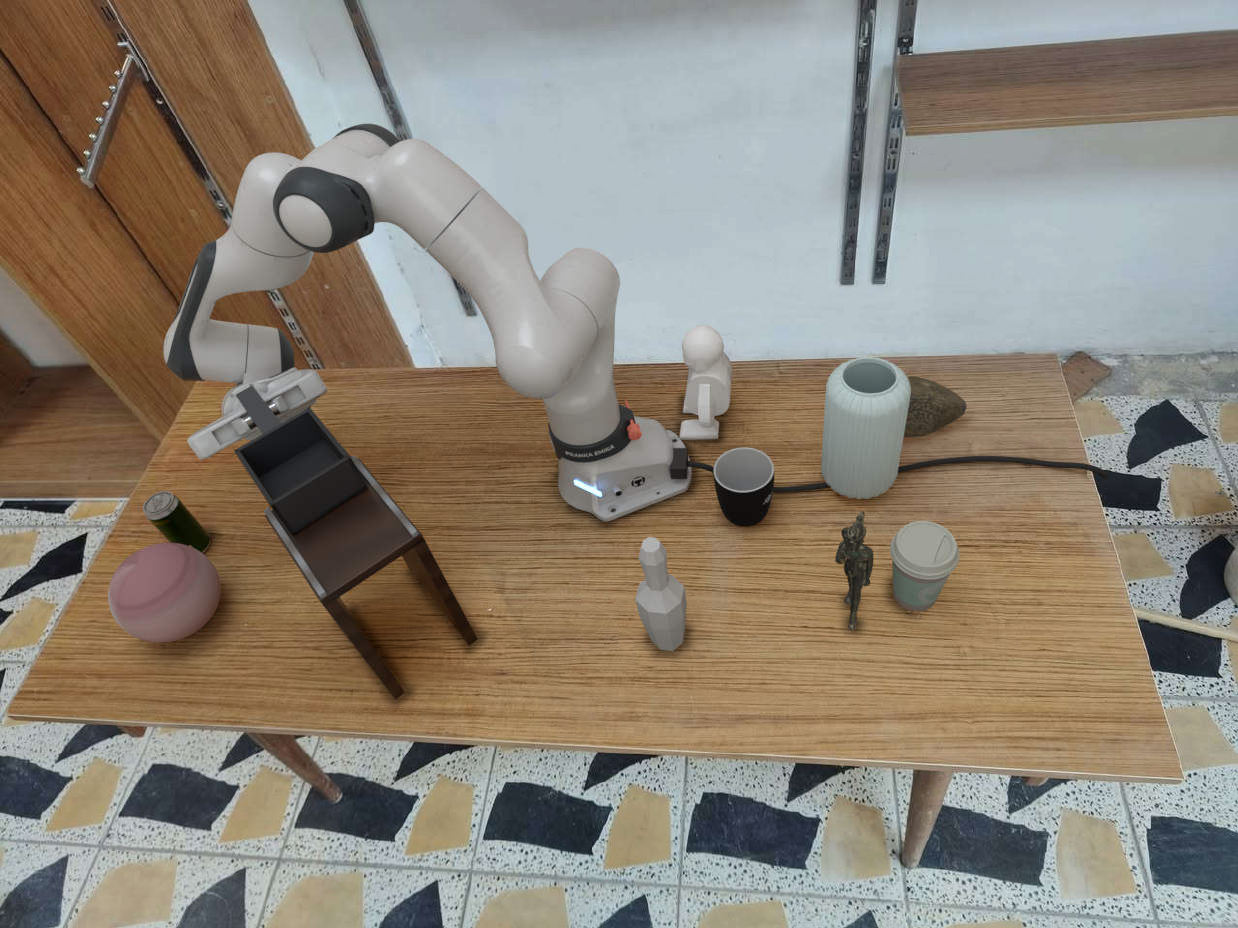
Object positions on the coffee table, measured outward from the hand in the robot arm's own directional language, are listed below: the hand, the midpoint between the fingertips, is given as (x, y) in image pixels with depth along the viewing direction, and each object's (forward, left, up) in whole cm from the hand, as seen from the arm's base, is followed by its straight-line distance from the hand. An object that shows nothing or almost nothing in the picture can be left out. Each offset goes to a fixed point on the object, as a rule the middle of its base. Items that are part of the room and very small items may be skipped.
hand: (262, 416), depth 113 cm
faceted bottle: (-48, +30, -30) cm, 64 cm away
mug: (-65, +10, -30) cm, 73 cm away
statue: (-73, +33, -30) cm, 86 cm away
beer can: (+27, -7, -30) cm, 41 cm away
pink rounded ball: (+25, +8, -30) cm, 40 cm away
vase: (-83, +10, -30) cm, 89 cm away
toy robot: (-64, -10, -30) cm, 71 cm away
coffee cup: (-83, +32, -30) cm, 94 cm away
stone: (-95, +1, -30) cm, 100 cm away
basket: (-3, +6, -4) cm, 8 cm away
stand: (-11, +19, -30) cm, 37 cm away
